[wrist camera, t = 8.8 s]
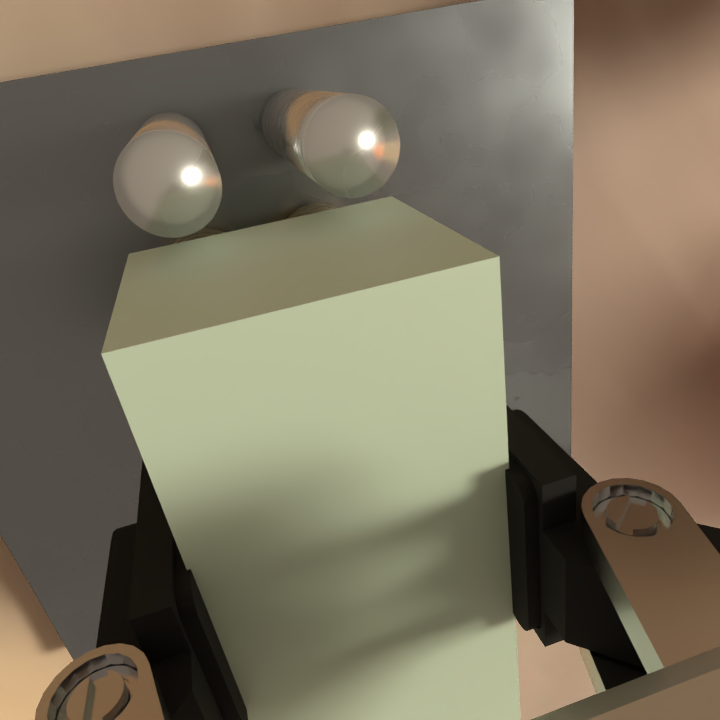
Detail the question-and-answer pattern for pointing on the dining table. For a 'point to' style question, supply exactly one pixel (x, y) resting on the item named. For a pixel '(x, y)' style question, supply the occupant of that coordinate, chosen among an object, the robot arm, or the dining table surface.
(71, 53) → the dining table surface
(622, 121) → the dining table surface
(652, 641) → the robot arm
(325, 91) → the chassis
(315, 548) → the pale green block
